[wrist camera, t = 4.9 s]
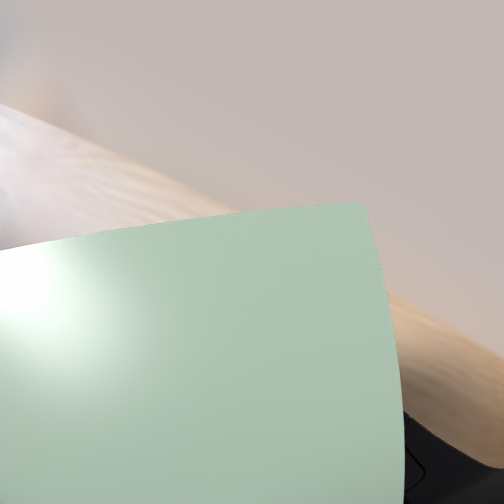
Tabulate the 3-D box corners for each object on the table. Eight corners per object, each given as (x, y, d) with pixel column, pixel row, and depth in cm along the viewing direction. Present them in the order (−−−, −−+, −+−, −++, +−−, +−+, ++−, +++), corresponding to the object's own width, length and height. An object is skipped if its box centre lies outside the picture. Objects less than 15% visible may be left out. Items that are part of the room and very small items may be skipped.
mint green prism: (309, 449, 12) (382, 617, 1) (197, 453, 12) (15, 553, 1) (301, 343, 14) (363, 202, 3) (191, 351, 15) (-6, 252, 4)
